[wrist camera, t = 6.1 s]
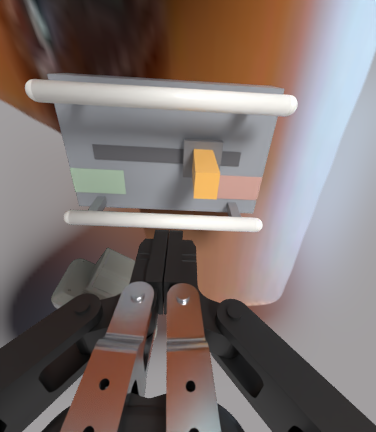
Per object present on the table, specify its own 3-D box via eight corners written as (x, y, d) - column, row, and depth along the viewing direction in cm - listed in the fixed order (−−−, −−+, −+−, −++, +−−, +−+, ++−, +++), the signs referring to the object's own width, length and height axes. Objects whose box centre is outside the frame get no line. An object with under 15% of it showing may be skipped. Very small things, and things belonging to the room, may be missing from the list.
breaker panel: (66, 72, 24) (13, 75, 17) (271, 85, 25) (307, 93, 17) (90, 191, 32) (61, 228, 24) (246, 198, 32) (263, 236, 25)
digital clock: (67, 258, 39) (32, 315, 30) (99, 230, 36) (70, 284, 27) (139, 302, 46) (127, 359, 37) (171, 281, 42) (167, 339, 33)
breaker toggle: (184, 138, 24) (183, 162, 18) (222, 140, 24) (234, 164, 18) (182, 174, 26) (181, 205, 20) (217, 176, 26) (226, 207, 20)
